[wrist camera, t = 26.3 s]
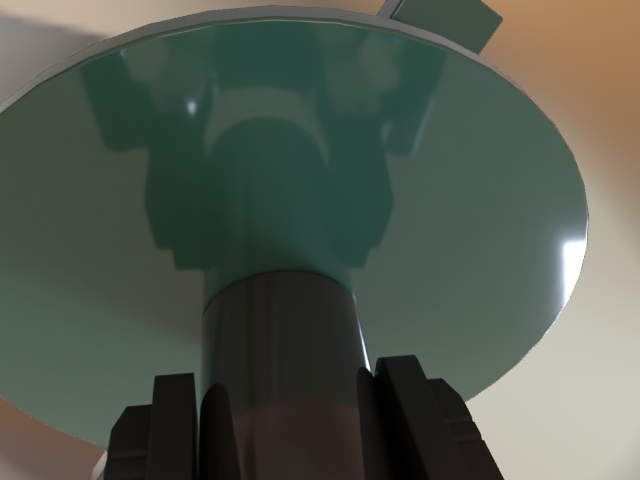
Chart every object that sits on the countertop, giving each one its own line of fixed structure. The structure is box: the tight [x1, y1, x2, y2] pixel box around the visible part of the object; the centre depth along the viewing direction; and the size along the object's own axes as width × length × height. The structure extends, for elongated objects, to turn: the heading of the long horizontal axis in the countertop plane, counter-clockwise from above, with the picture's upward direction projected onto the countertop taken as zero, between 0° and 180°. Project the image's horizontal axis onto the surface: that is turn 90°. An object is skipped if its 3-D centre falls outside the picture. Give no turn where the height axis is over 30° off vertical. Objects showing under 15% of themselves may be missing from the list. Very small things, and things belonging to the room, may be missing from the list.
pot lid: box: [0, 5, 589, 480], centre depth 11 cm, size 14×14×7 cm
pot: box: [91, 0, 503, 480], centre depth 18 cm, size 13×19×6 cm
